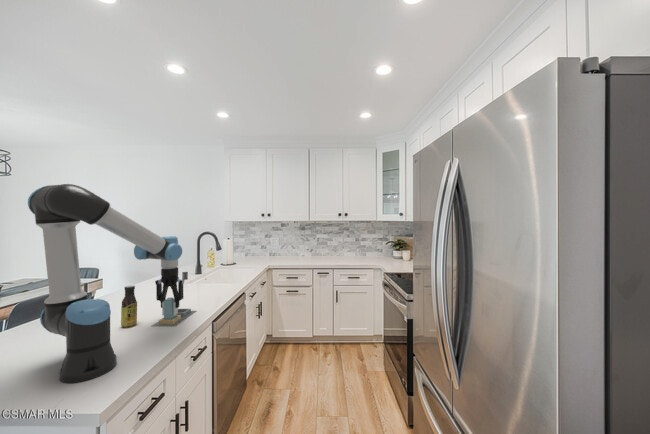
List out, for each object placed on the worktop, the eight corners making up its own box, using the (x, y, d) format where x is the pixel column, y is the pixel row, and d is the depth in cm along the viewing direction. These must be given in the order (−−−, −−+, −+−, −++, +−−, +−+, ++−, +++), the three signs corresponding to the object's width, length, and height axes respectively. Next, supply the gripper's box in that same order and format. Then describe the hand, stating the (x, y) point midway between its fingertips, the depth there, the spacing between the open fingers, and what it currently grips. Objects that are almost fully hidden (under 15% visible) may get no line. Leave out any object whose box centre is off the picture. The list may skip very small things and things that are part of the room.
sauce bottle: (128, 330, 130) (128, 288, 130) (117, 330, 131) (117, 287, 131) (140, 325, 136) (140, 285, 136) (129, 324, 138) (129, 284, 138)
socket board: (175, 328, 132) (175, 322, 132) (150, 328, 133) (150, 322, 133) (197, 312, 154) (197, 307, 154) (176, 312, 155) (176, 307, 155)
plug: (172, 323, 136) (171, 299, 136) (163, 323, 137) (163, 299, 136) (176, 320, 140) (176, 296, 140) (168, 320, 141) (168, 296, 140)
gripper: (191, 266, 142) (191, 311, 142) (156, 266, 142) (157, 311, 142) (183, 268, 134) (184, 316, 135) (147, 269, 135) (147, 317, 135)
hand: (170, 314), depth 138 cm, fingers open, 5 cm apart
